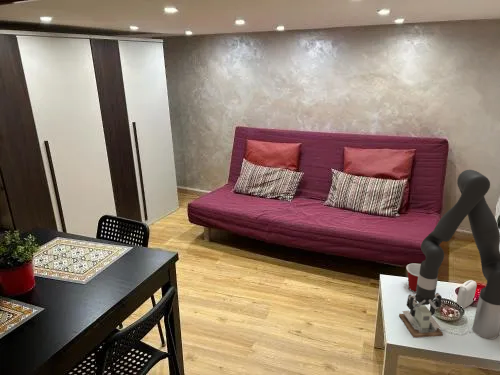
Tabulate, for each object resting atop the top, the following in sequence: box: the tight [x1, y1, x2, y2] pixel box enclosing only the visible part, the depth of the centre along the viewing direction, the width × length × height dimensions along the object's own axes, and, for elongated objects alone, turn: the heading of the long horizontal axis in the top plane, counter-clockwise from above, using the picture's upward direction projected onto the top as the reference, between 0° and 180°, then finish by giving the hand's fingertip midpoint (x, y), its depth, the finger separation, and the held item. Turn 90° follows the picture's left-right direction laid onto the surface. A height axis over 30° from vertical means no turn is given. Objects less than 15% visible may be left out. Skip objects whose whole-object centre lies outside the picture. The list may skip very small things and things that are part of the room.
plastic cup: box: [405, 262, 421, 293], centre depth 188 cm, size 11×11×12 cm
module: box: [414, 302, 431, 328], centre depth 162 cm, size 4×8×8 cm, turn 3°
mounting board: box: [398, 313, 444, 338], centre depth 164 cm, size 13×14×1 cm
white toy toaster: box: [455, 279, 478, 309], centre depth 175 cm, size 10×4×12 cm, turn 123°
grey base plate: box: [402, 310, 442, 333], centre depth 163 cm, size 12×12×2 cm
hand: (422, 314), depth 162 cm, fingers open, 8 cm apart
